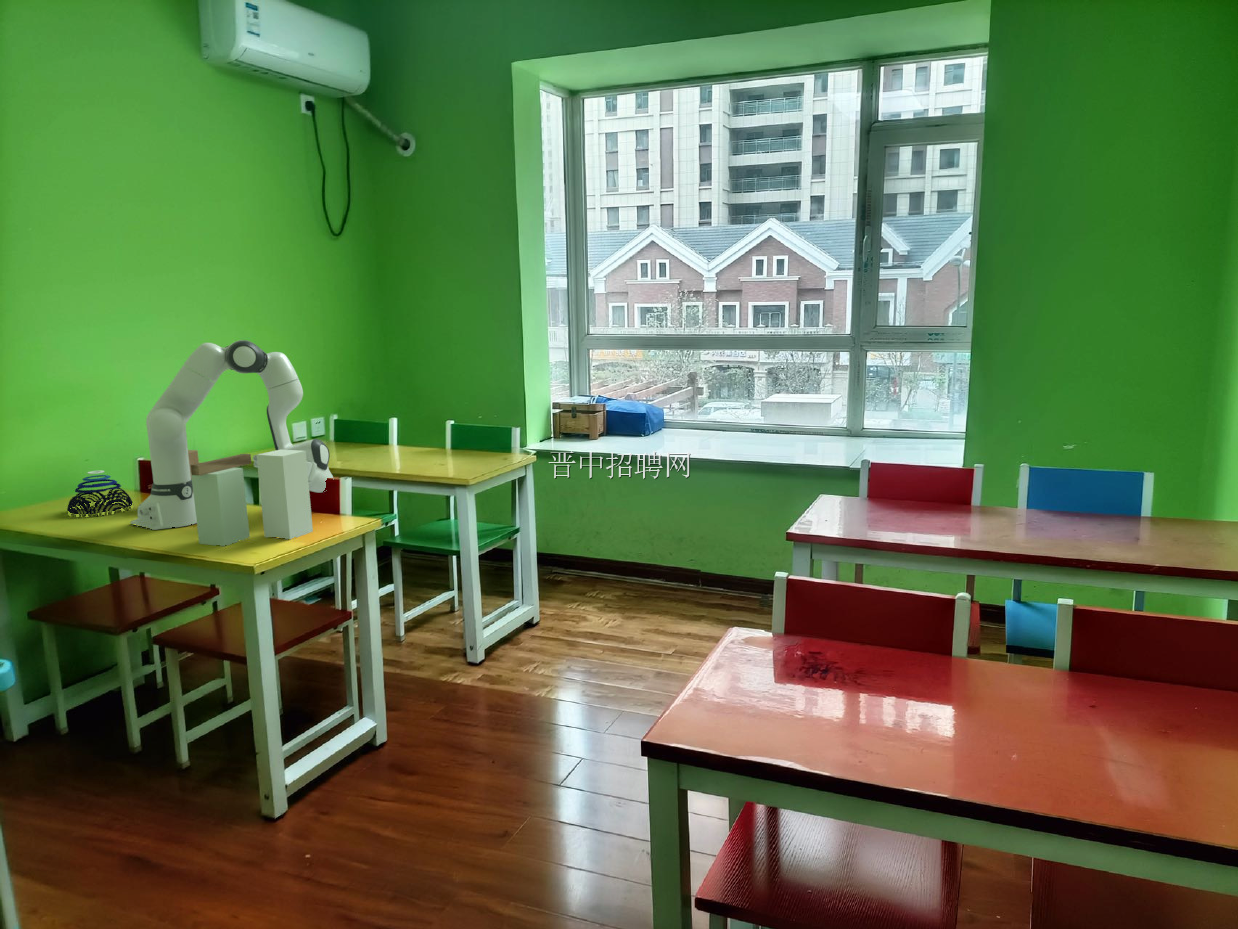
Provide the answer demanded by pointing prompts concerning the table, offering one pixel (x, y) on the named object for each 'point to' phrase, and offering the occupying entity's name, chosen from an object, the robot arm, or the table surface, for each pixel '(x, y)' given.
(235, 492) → the sage post
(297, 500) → the grey post
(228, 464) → the walnut bar
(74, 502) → the decorative bowl
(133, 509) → the table surface
